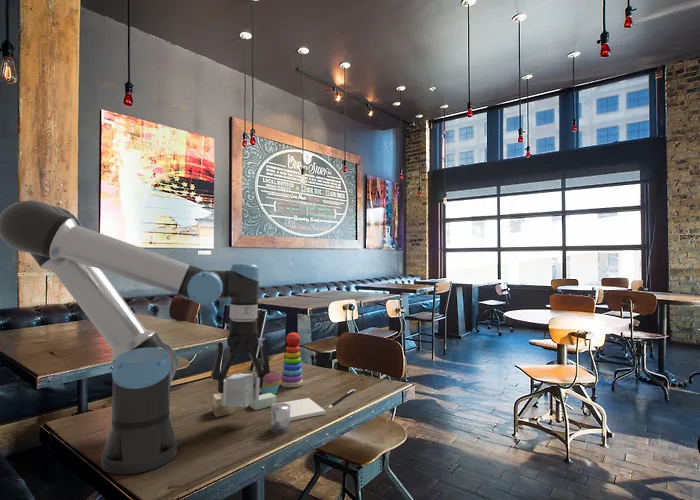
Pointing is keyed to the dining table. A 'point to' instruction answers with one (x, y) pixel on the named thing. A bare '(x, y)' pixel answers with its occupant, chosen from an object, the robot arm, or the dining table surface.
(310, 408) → the cream pad
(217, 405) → the oak cube
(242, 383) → the skincare box
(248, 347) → the robot arm
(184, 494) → the dining table surface
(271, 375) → the cupcake
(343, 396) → the pen
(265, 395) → the sage block
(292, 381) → the stacking toy
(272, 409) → the steel cylinder
